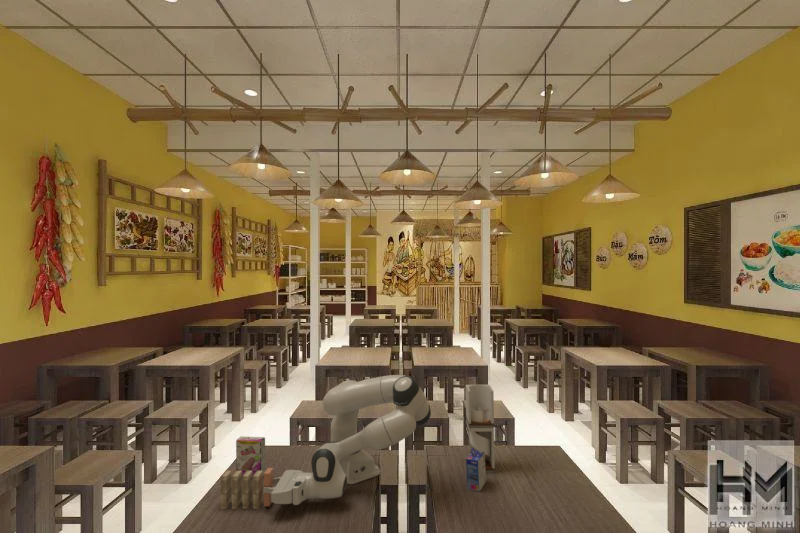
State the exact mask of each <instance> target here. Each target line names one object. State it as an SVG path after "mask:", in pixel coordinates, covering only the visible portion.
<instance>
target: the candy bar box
mask: <svg viewBox="0 0 800 533" xmlns="http://www.w3.org/2000/svg"><path fill="white" fill-rule="evenodd" d="M235 444H236V445H235V448H236V449H235V453H236V455H235V456H236V457H235V459H236V461H235V463H236V464H235V466H236V470H235V472H236V471H242V476H243V475H244V474H245V472H246V471H252V480H253V475H254V474H255V473H256V472H257V471H263V477H264V473H265V471H266V437H265V436H264V437H263V436H241V435H240V436H239V438H237V439H236V442H235Z"/></svg>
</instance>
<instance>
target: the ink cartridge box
mask: <svg viewBox="0 0 800 533" xmlns="http://www.w3.org/2000/svg"><path fill="white" fill-rule="evenodd" d="M473 450H474V451H473ZM465 466H466V467H465V468H466V483H467V484H466V485H467V486H466V487H467V490H469V491H475V492H481V491H482V488H483V487H484V485H485V484H486V482H487V479H486V478H487V476H486V474H487V473H486V471H485V452H480V451H475V449H474V448H472V449H471V454H470V455H469V454H468V456H467V457H466V459H465Z"/></svg>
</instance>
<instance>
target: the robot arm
mask: <svg viewBox="0 0 800 533" xmlns="http://www.w3.org/2000/svg"><path fill="white" fill-rule="evenodd" d="M391 403H393V405H395V407H394V409H393V410H392V411H391V412H388V413H386V414H384V415H382V416H379V417H378V418H376V419H374V420H373V421H371V422H370V423H368V424H367V425H366V426H364V428H362V429H361V430H360V431H359V432H358V431H357V430H358V427H357V426H358V419H359V418H358V417H359V411H360V410H362V409H364V408H365V409H366V408H369V407H372V406H373V407H374V406H378V405H385V404H391ZM322 408H323V410H324V411H325V412H326V413H327V414H328V415H330V416H333V417H332V419H331V422H330V441H326V442H324V443H322V444H320V446H319V447H318V448H317V450H316V451H315V452H314V453H313V455H312V458H311V461H310V462H311V470H312V472H304V471H303V470H299V469H297V470H296V469H287V470H285V471H284V473H283V474H282V476H278V477H275V478H274V477H273V485H275V486H273V487H272V488H270V487H269V486H265V487H264V486H263V494H264V493H269V494H271V502H272V503H273V504H277V505H278V504H279V505H288V504H289V505H290V504H293V506H298V505H300V504H301V503H302V502H304V501H306V500H308V499H310V500H311V499H314V498H318V499H322V500H323V499H325V500H327V499H336V498H341V497H342V496H343V495H344V493H345V491H346V488H347V485H355V484H357V483H360V482H364V481H366V480H368V479H371V478H375V477H377V476H379V475H381V469H380V468H379V466H378V465H377V464H375V460H374V458H373V456H372V455H371V454H370V453H369V452H367V451H365V450H366V449H370V450H374V451H378V450H380V451H381V450H384V449H387V448H389V447H391V446H393V445H396V444H398V443H399V442H401V441H403V440H405V439H406V438H407V437H409V436H410V435H412V434H413V433H414V432H415V431H416V428H417V426H422V425H424V424H426V423H427V422H428V421H429V420H430V418H431V415H432V411H431V406H430V404H429V402H428V399H427V397H426V394H425V393H424V391H423V390H422V388H421V386H420V384H419V382H418V381H417V380H416V379H415V378H414V377H412V375H405V374H389V375H383V376H377V377H371V378H366V379H363V380H360V381H356V380H353V379H351V380H350V379H348V380H345V381H342V382H341V383H339V384H337V385H336V386H334V387H332V388H331V389H329V390H328V392H326V394H325V395H324V397H323V399H322ZM364 449H365V450H364Z"/></svg>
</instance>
